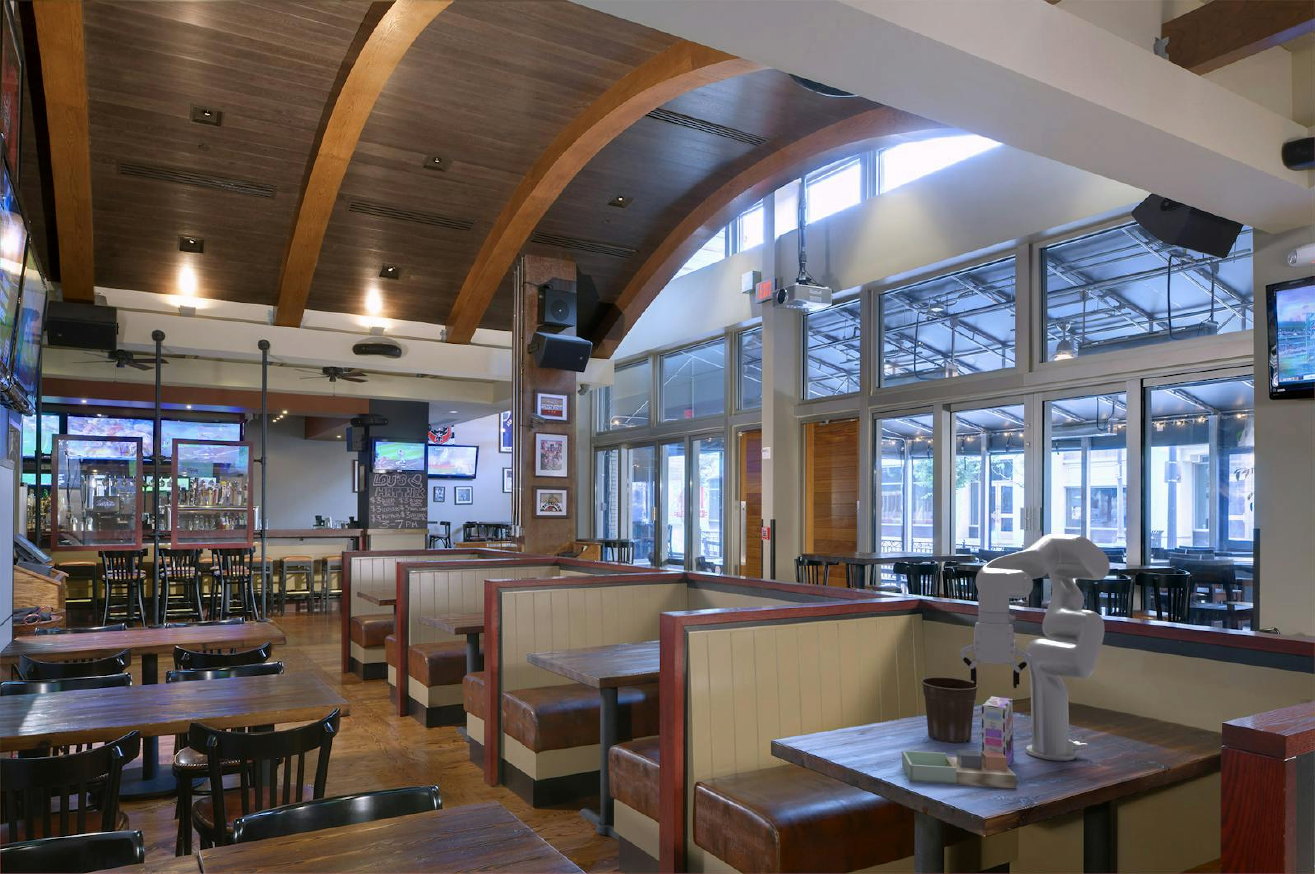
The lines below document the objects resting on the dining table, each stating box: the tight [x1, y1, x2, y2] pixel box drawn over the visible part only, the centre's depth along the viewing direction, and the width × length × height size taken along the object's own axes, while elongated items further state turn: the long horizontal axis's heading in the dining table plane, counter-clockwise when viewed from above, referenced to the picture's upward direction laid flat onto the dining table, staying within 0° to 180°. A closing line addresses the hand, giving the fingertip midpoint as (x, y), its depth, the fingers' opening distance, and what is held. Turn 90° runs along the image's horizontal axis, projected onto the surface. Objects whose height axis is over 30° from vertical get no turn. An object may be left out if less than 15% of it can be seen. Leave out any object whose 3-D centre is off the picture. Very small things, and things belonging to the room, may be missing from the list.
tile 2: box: [980, 750, 1007, 770], centre depth 212 cm, size 5×5×3 cm
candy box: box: [981, 695, 1015, 768], centre depth 225 cm, size 14×6×16 cm, turn 148°
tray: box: [901, 750, 958, 786], centre depth 214 cm, size 11×13×4 cm
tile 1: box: [956, 749, 982, 769], centre depth 213 cm, size 5×5×3 cm
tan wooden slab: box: [946, 756, 1017, 789], centre depth 212 cm, size 14×13×3 cm
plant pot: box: [920, 676, 979, 744], centre depth 251 cm, size 16×16×16 cm
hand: (994, 685), depth 218 cm, fingers open, 9 cm apart
